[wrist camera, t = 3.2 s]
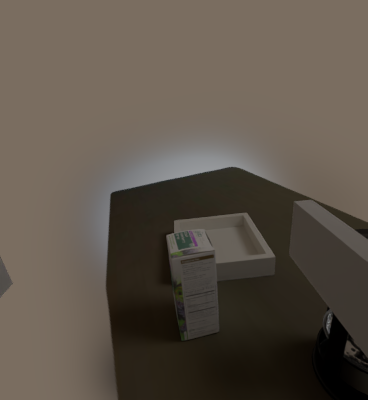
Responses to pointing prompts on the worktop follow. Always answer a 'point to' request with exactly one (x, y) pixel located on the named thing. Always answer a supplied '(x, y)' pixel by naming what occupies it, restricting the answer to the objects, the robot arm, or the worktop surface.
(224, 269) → the bin
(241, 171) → the worktop surface
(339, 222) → the robot arm
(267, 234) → the worktop surface
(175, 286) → the syrup box
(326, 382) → the french press
